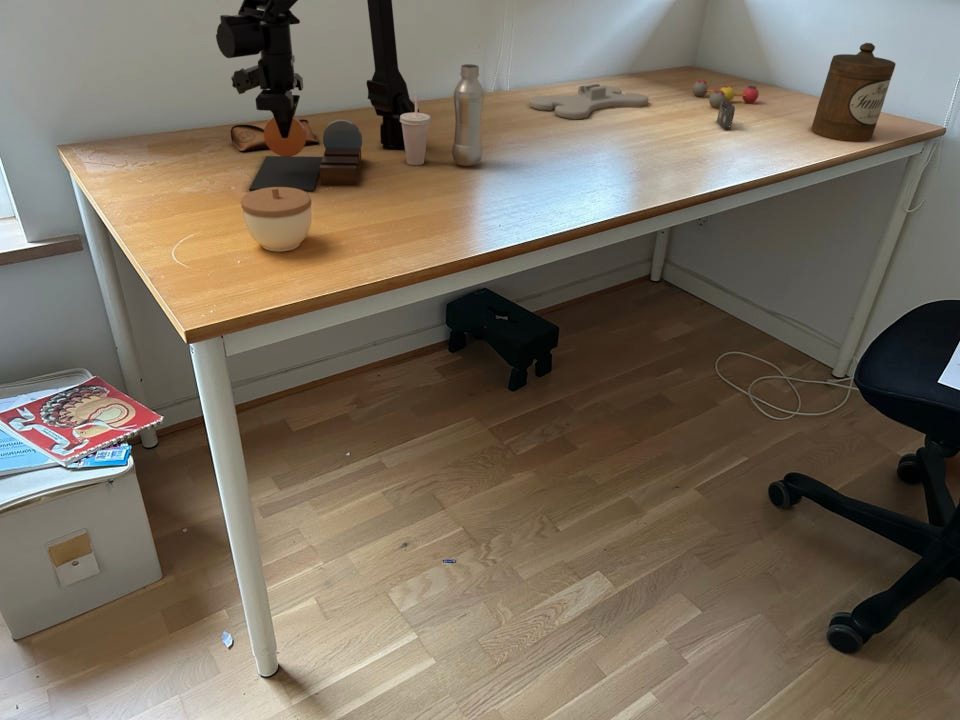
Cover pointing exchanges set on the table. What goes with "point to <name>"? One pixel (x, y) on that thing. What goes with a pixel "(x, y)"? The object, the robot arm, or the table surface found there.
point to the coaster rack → (340, 166)
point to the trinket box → (277, 217)
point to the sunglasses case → (259, 136)
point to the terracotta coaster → (285, 145)
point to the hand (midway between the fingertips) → (285, 136)
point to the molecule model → (724, 93)
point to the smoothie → (415, 135)
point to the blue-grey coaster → (342, 135)
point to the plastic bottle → (468, 117)
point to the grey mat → (288, 173)
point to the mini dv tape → (725, 114)
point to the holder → (587, 101)
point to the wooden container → (853, 95)
